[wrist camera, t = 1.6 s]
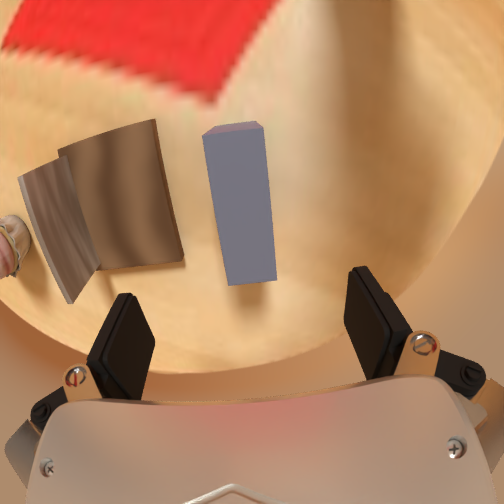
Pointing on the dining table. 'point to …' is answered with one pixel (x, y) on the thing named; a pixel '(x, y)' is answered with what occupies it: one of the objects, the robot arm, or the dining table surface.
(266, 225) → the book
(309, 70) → the dining table surface
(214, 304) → the dining table surface
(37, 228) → the bent wood veneer panel
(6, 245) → the cupcake
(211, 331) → the dining table surface
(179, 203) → the dining table surface
